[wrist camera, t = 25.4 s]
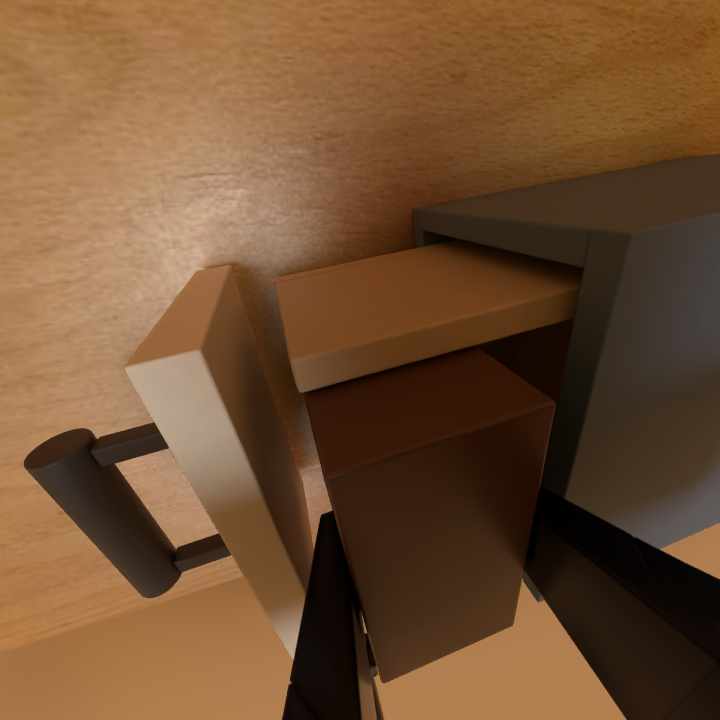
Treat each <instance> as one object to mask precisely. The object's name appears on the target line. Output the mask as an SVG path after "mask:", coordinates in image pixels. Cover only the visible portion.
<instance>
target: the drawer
mask: <svg viewBox="0 0 720 720" xmlns="http://www.w3.org/2000/svg"><path fill="white" fill-rule="evenodd" d="M583 271H584V268H580V267H576V266H572V265H568V264H563V263H559V262H555V261H551V260H546V259H542V258H538V257H534V256H529V255H525V254H521V253H517V252H512V251H508V250H504V249H500V248H495V247H491V246H487V245H483V244H478V243H474V242H470V241H466V240H461V239H457V240H453V241H448V242H443V243H438V244H434V245H429V246H424V247H419V248H415V249H410V250H405V251H400V252H395V253H391V254H386V255H381V256H376V257H372V258H367V259H362V260H357V261H353V262H348V263H343V264H338V265H333V266H329V267H324V268H319V269H314V270H310V271H305V272H300V273H295V274H290V275H286V276H281V277H276V278H274V285H275V290H276V295H277V300H278V305H279V310H280V315H281V320H282V326H283V331H284V336H285V341H286V346H287V351H288V357H289V362H290V365H291V369H292V372H293V376H294V379H295V383H296V386H297V390H298V391H299V392H300V393H303V392H307V391H311V390H314V389H318V388H322V387H325V386H329V385H332V384H336V383H340V382H343V381H347V380H351V379H354V378H358V377H362V376H365V375H369V374H373V373H376V372H380V371H384V370H387V369H391V368H395V367H398V366H402V365H405V364H409V363H413V362H416V361H420V360H424V359H427V358H431V357H435V356H438V355H442V354H446V353H449V352H453V351H457V350H460V349H464V348H467V347H471V346H475V345H476V346H477V347H478V348H480V349H481V350H483V351H484V352H486V353H487V354H488V355H490V356H491V357H493V358H494V359H496V360H497V361H498V362H500V363H501V364H503V365H504V366H506V367H507V368H508V369H510V370H511V371H513V372H514V373H516V374H517V375H518V376H520V377H521V378H523V379H524V380H525V381H527V382H528V383H530V384H531V385H533V386H534V387H535V388H537V389H538V390H540V391H541V392H543V393H544V394H545V395H547V396H548V397H550V398H551V399H553V400H554V402H555V404H556V406H555V411H554V416H553V422H552V427H551V432H550V437H549V442H548V448H547V453H546V458H545V463H544V468H543V473H542V479H541V484H540V486H542V481H543V476H544V471H545V466H546V461H547V456H548V451H549V445H550V440H551V435H552V430H553V425H554V420H555V415H556V410H557V404H558V399H559V394H560V389H561V384H562V379H563V374H564V369H565V363H566V358H567V353H568V348H569V343H570V338H571V333H572V328H573V322H574V317H575V312H576V307H577V302H578V297H579V292H580V287H581V281H582V276H583ZM124 371H125V372H126V374H127V376H128V378H129V379H130V381H131V383H132V384H133V386H134V388H135V390H136V391H137V393H138V395H139V396H140V398H141V400H142V402H143V403H144V405H145V407H146V409H147V410H148V412H149V414H150V415H151V417H152V419H153V421H154V423H150V424H146V425H143V426H139V427H135V428H132V429H128V430H124V431H120V432H117V433H113V434H109V435H105V436H102V437H100V438H98V439H97V438H96V437H95V436H94V434H93V433H92V431H90V430H88V429H85V428H80V429H74V430H70V431H67V432H64V433H61V434H59V435H57V436H55V437H52V438H51V439H49V440H47V441H45V442H44V443H42V444H41V445H39V446H38V447H36V448H35V449H34V450H33V451H32V452H31V453H30V454H29V455H28V456H27V457H26V459H25V461H24V467H25V469H26V470H27V471H28V472H29V473H30V474H31V475H32V476H33V477H34V479H35V480H36V481H37V482H38V483H39V484H40V485H41V486H42V487H43V488H44V489H45V491H46V492H47V493H48V494H49V495H50V496H51V497H52V498H53V499H54V500H55V501H56V503H57V504H58V505H59V506H60V507H61V508H62V509H63V510H64V511H65V512H66V513H67V515H68V516H69V517H70V518H71V519H72V520H73V521H74V522H75V523H76V524H77V525H78V527H79V528H80V529H81V530H82V531H83V532H84V533H85V534H86V535H87V536H88V538H89V539H90V540H91V541H92V542H93V543H94V544H95V545H96V546H97V547H98V548H99V550H100V551H101V552H102V553H103V554H104V555H105V556H106V557H107V558H108V559H109V560H110V562H111V563H112V564H113V565H114V566H115V567H116V568H117V569H118V570H119V571H120V572H121V574H122V575H123V576H124V577H125V578H126V579H127V580H128V581H129V582H130V583H131V584H132V586H133V587H134V588H135V589H136V590H137V591H138V592H139V593H140V594H141V595H142V596H143V597H145V598H154V597H158V596H160V595H162V594H164V593H165V592H167V591H168V590H169V589H170V588H172V586H173V585H174V584H175V583H176V582H177V581H178V579H179V578H180V576H181V574H182V572H184V571H187V570H190V569H193V568H196V567H198V566H201V565H204V564H207V563H210V562H213V561H216V560H219V559H221V558H224V557H227V556H230V555H232V556H233V558H234V560H235V562H236V563H237V565H238V567H239V568H240V570H241V572H242V574H243V575H244V577H245V579H246V580H247V582H248V584H249V586H250V587H251V589H252V591H253V592H254V594H255V596H256V598H257V599H258V601H259V603H260V604H261V606H262V608H263V610H264V611H265V613H266V615H267V617H268V618H269V620H270V622H271V623H272V625H273V627H274V629H275V630H276V632H277V634H278V635H279V637H280V639H281V641H282V642H283V644H284V646H285V647H286V649H287V651H288V653H289V654H290V656H291V658H292V659H293V660H294V655H295V650H296V644H297V639H298V634H299V628H300V623H301V618H302V613H303V607H304V602H305V597H306V591H307V586H308V581H309V575H310V570H311V565H312V559H313V554H314V548H313V542H312V536H311V530H310V523H309V517H308V511H307V505H306V498H305V492H304V486H303V481H302V478H301V475H300V472H299V469H298V466H297V463H296V460H295V457H294V454H293V451H292V448H291V445H290V442H289V439H288V436H287V433H286V430H285V427H284V424H283V421H282V418H281V415H280V412H279V409H278V406H277V403H276V400H275V397H274V394H273V391H272V388H271V385H270V382H269V379H268V376H267V373H266V370H265V367H264V364H263V361H262V358H261V355H260V352H259V349H258V346H257V343H256V340H255V337H254V334H253V331H252V328H251V325H250V322H249V319H248V316H247V313H246V310H245V307H244V304H243V300H242V297H241V294H240V291H239V288H238V285H237V282H236V279H235V276H234V273H233V270H232V267H231V265H225V266H220V267H215V268H210V269H205V270H200V271H196V272H195V274H194V275H193V276H192V278H191V279H190V280H189V282H188V283H187V284H186V286H185V287H184V288H183V290H182V291H181V292H180V294H179V295H178V296H177V298H176V299H175V300H174V302H173V303H172V304H171V305H170V307H169V308H168V309H167V311H166V312H165V313H164V315H163V316H162V317H161V319H160V320H159V321H158V323H157V324H156V325H155V327H154V328H153V329H152V331H151V332H150V333H149V335H148V336H147V337H146V339H145V340H144V341H143V343H142V344H141V345H140V347H139V348H138V349H137V351H136V352H135V353H134V355H133V356H132V357H131V359H130V360H129V361H128V363H127V364H126V365H125V367H124ZM168 448H170V450H171V451H172V453H173V455H174V457H175V458H176V460H177V462H178V464H179V465H180V467H181V469H182V470H183V472H184V474H185V476H186V477H187V479H188V481H189V482H190V484H191V486H192V488H193V489H194V491H195V493H196V494H197V496H198V498H199V500H200V501H201V503H202V505H203V507H204V508H205V510H206V512H207V513H208V515H209V517H210V519H211V520H212V522H213V524H214V525H215V527H216V529H217V531H218V532H219V534H216V535H213V536H210V537H207V538H204V539H201V540H198V541H195V542H192V543H189V544H186V545H183V546H180V547H178V548H177V550H176V549H175V547H174V546H173V544H172V543H171V542H170V540H169V539H168V537H167V536H166V535H165V533H164V532H163V530H162V529H161V528H160V526H159V525H158V523H157V522H156V521H155V519H154V518H153V517H152V515H151V514H150V512H149V511H148V510H147V508H146V507H145V505H144V504H143V503H142V501H141V500H140V498H139V497H138V496H137V494H136V493H135V491H134V490H133V489H132V487H131V486H130V484H129V483H128V482H127V480H126V479H125V477H124V476H123V475H122V473H121V472H120V470H119V469H118V468H117V466H116V465H115V463H118V462H122V461H125V460H129V459H132V458H136V457H139V456H143V455H146V454H150V453H153V452H157V451H161V450H164V449H168ZM361 613H362V612H361ZM362 616H363V615H362Z"/></svg>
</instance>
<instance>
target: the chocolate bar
mask: <svg viewBox="0 0 720 720" xmlns="http://www.w3.org/2000/svg"><path fill="white" fill-rule="evenodd" d="M304 397H305V401H306V405H307V409H308V414H309V418H310V422H311V426H312V431H313V435H314V439H315V443H316V447H317V452H318V456H319V460H320V464H321V469H322V473H323V477H324V481H325V484H326V488H327V491H328V495H329V498H330V502H331V505H332V509H333V513H334V516H335V520H336V523H337V527H338V530H339V534H340V537H341V541H342V544H343V548H344V552H345V555H346V559H347V562H348V566H349V569H350V573H351V576H352V580H353V583H354V587H355V591H356V594H357V598H358V601H359V605H360V608H361V612H362V615H363V619H364V622H365V626H366V629H367V633H368V637H369V640H370V644H371V647H372V651H373V654H374V658H375V661H376V665H377V668H378V672H379V676H380V679H381V681H382V683H386V682H389V681H391V680H393V679H395V678H398V677H400V676H402V675H404V674H406V673H409V672H411V671H413V670H415V669H417V668H420V667H422V666H424V665H426V664H429V663H431V662H433V661H435V660H438V659H440V658H442V657H444V656H446V655H449V654H451V653H453V652H455V651H458V650H460V649H462V648H464V647H466V646H469V645H471V644H473V643H475V642H477V641H480V640H482V639H484V638H486V637H489V636H491V635H493V634H495V633H497V632H499V631H502V630H504V629H506V628H509V627H511V626H512V625H513V623H514V618H515V613H516V608H517V603H518V597H519V592H520V587H521V582H522V577H523V572H524V567H525V561H526V556H527V551H528V546H529V541H530V536H531V530H532V525H533V520H534V515H535V510H536V504H537V499H538V494H539V489H540V484H541V479H542V473H543V468H544V463H545V458H546V453H547V448H548V442H549V437H550V432H551V427H552V422H553V416H554V411H555V406H556V404H555V402H554V400H553V399H551V398H550V397H548V396H547V395H545V394H544V393H543V392H541V391H540V390H538V389H537V388H535V387H534V386H533V385H531V384H530V383H528V382H527V381H525V380H524V379H523V378H521V377H520V376H518V375H517V374H516V373H514V372H513V371H511V370H510V369H508V368H507V367H506V366H504V365H503V364H501V363H500V362H498V361H497V360H496V359H494V358H493V357H491V356H490V355H488V354H487V353H486V352H484V351H483V350H481V349H480V348H478V347H477V346H476V345H475V346H471V347H467V348H464V349H460V350H457V351H453V352H449V353H446V354H442V355H438V356H435V357H431V358H427V359H424V360H420V361H416V362H413V363H409V364H405V365H402V366H398V367H395V368H391V369H387V370H384V371H380V372H376V373H373V374H369V375H365V376H362V377H358V378H354V379H351V380H347V381H343V382H340V383H336V384H332V385H329V386H325V387H322V388H318V389H314V390H311V391H307V392H304Z"/></svg>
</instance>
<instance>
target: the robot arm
mask: <svg viewBox="0 0 720 720" xmlns="http://www.w3.org/2000/svg"><path fill="white" fill-rule="evenodd" d="M524 570H525V572H526V573H527V575H528V576H529V578H530V579H531V581H532V582H533V584H534V585H535V587H536V588H537V589H538V591H539V592H540V594H541V595H542V597H543V598H544V600H545V601H546V602H547V604H548V605H549V607H550V608H551V610H552V611H553V613H554V614H555V615H556V617H557V618H558V620H559V622H560V623H561V624H562V626H563V627H564V629H565V630H566V632H567V633H568V635H569V636H570V637H571V639H572V640H573V642H574V643H575V645H576V646H577V648H578V649H579V651H580V652H581V654H582V655H583V656H584V658H585V659H586V661H587V662H588V664H589V665H590V667H591V668H592V670H593V671H594V673H595V674H596V676H597V677H598V678H599V680H600V681H601V683H602V684H603V686H604V687H605V689H606V690H607V692H608V693H609V695H610V696H611V697H612V699H613V700H614V702H615V703H616V705H617V706H618V708H619V709H620V711H621V712H622V714H623V715H624V716H625V718H626V719H627V720H720V579H718V578H716V577H714V576H711V575H710V574H707V573H705V572H703V571H701V570H699V569H697V568H695V567H693V566H691V565H689V564H686V563H684V562H683V561H681V560H679V559H677V558H675V557H673V556H671V555H669V554H667V553H665V552H663V551H661V550H659V549H658V548H656V547H654V546H652V545H650V544H648V543H646V542H644V541H643V540H641V539H639V538H637V537H633V536H632V535H631V534H629V533H628V532H626V531H624V530H622V529H620V528H618V527H616V526H615V525H613V524H611V523H609V522H607V521H605V520H603V519H602V518H600V517H598V516H596V515H594V514H592V513H590V512H589V511H587V510H585V509H583V508H581V507H579V506H578V505H576V504H574V503H572V502H570V501H568V500H566V499H565V498H563V497H561V496H559V495H557V494H555V493H553V492H552V491H550V490H548V489H546V488H544V487H542V486H540V489H539V494H538V499H537V504H536V510H535V515H534V520H533V525H532V530H531V536H530V541H529V546H528V551H527V556H526V561H525V567H524ZM377 674H378V672H377V668H376V664H375V661H374V657H373V654H372V650H371V647H370V644H366V641H365V634H364V627H363V620H362V613H361V608H360V605H359V601H358V598H357V594H356V591H355V587H354V583H353V580H352V576H351V573H350V569H349V566H348V562H347V559H346V555H345V552H344V548H343V544H342V541H341V537H340V534H339V530H338V527H337V523H336V520H335V516H334V513H333V510H332V511H330V512H327V513H324V514H322V515H321V518H320V522H319V528H318V533H317V538H316V544H315V549H314V554H313V559H312V565H311V570H310V575H309V581H308V586H307V591H306V597H305V602H304V607H303V613H302V618H301V623H300V628H299V634H298V639H297V644H296V650H295V655H294V660H293V666H292V671H291V676H290V682H291V683H292V684H289V686H288V691H287V697H286V702H285V707H284V712H283V717H282V720H384V717H383V712H382V708H381V704H380V700H379V696H378V692H377V687H376V683H375V680H374V677H375V676H376V675H377Z"/></svg>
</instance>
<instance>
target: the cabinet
mask: <svg viewBox="0 0 720 720" xmlns="http://www.w3.org/2000/svg"><path fill="white" fill-rule="evenodd" d="M413 216H414V234H415V248H419V247H424V246H429V245H434V244H438V243H443V242H448V241H453V240H457V239H461V240H466V241H470V242H474V243H478V244H483V245H487V246H491V247H495V248H500V249H504V250H508V251H512V252H517V253H521V254H525V255H529V256H534V257H538V258H542V259H546V260H551V261H555V262H559V263H563V264H568V265H572V266H576V267H580V268H584V271H583V276H582V281H581V287H580V292H579V297H578V302H577V307H576V312H575V317H574V322H573V328H572V333H571V338H570V343H569V348H568V353H567V358H566V363H565V369H564V374H563V379H562V384H561V389H560V394H559V399H558V404H557V410H556V415H555V420H554V425H553V430H552V435H551V440H550V445H549V451H548V456H547V461H546V466H545V471H544V476H543V481H542V487H544V488H546V489H548V490H550V491H552V492H553V493H555V494H557V495H559V496H561V497H563V498H565V499H566V500H568V501H570V502H572V503H574V504H576V505H578V506H579V507H581V508H583V509H585V510H587V511H589V512H590V513H592V514H594V515H596V516H598V517H600V518H602V519H603V520H605V521H607V522H609V523H611V524H613V525H615V526H616V527H618V528H620V529H622V530H624V531H626V532H628V533H629V534H631V535H632V536H633V537H637V538H639V539H641V540H643V541H644V542H646V543H648V544H650V545H652V546H654V547H656V548H658V549H661V548H663V547H665V546H668V545H670V544H672V543H674V542H677V541H679V540H681V539H683V538H686V537H688V536H690V535H692V534H695V533H697V532H699V531H702V530H704V529H706V528H708V527H711V526H713V525H715V524H717V523H720V154H717V155H704V156H692V157H686V158H681V159H676V160H670V161H665V162H660V163H654V164H649V165H644V166H638V167H633V168H628V169H622V170H617V171H611V172H606V173H601V174H595V175H590V176H585V177H579V178H574V179H569V180H563V181H558V182H553V183H547V184H542V185H536V186H531V187H526V188H520V189H515V190H510V191H504V192H499V193H494V194H488V195H483V196H478V197H472V198H467V199H461V200H456V201H451V202H445V203H440V204H435V205H429V206H424V207H419V208H415V209H413ZM522 578H523V581H524V583H525V584H526V586H527V587H528V589H529V590H530V591H531V593H532V594H533V596H534V597H535V599H536V600H537V601H538V602H540V601H543V600H544V598H543V597H542V595H541V594H540V592H539V591H538V589H537V588H536V587H535V585H534V584H533V582H532V581H531V579H530V578H529V576H528V575H527V573H526V572H525V570H524V572H523V577H522Z"/></svg>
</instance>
